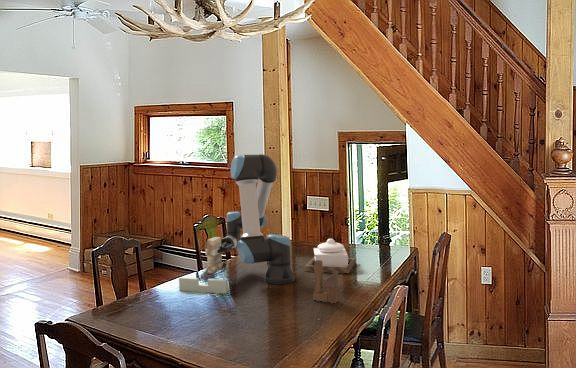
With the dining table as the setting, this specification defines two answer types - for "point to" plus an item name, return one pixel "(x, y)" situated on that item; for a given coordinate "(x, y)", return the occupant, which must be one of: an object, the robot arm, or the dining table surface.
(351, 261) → the dish tray rim
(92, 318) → the dining table surface
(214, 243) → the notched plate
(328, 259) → the butter dish
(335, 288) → the wooden block
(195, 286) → the notched rail
